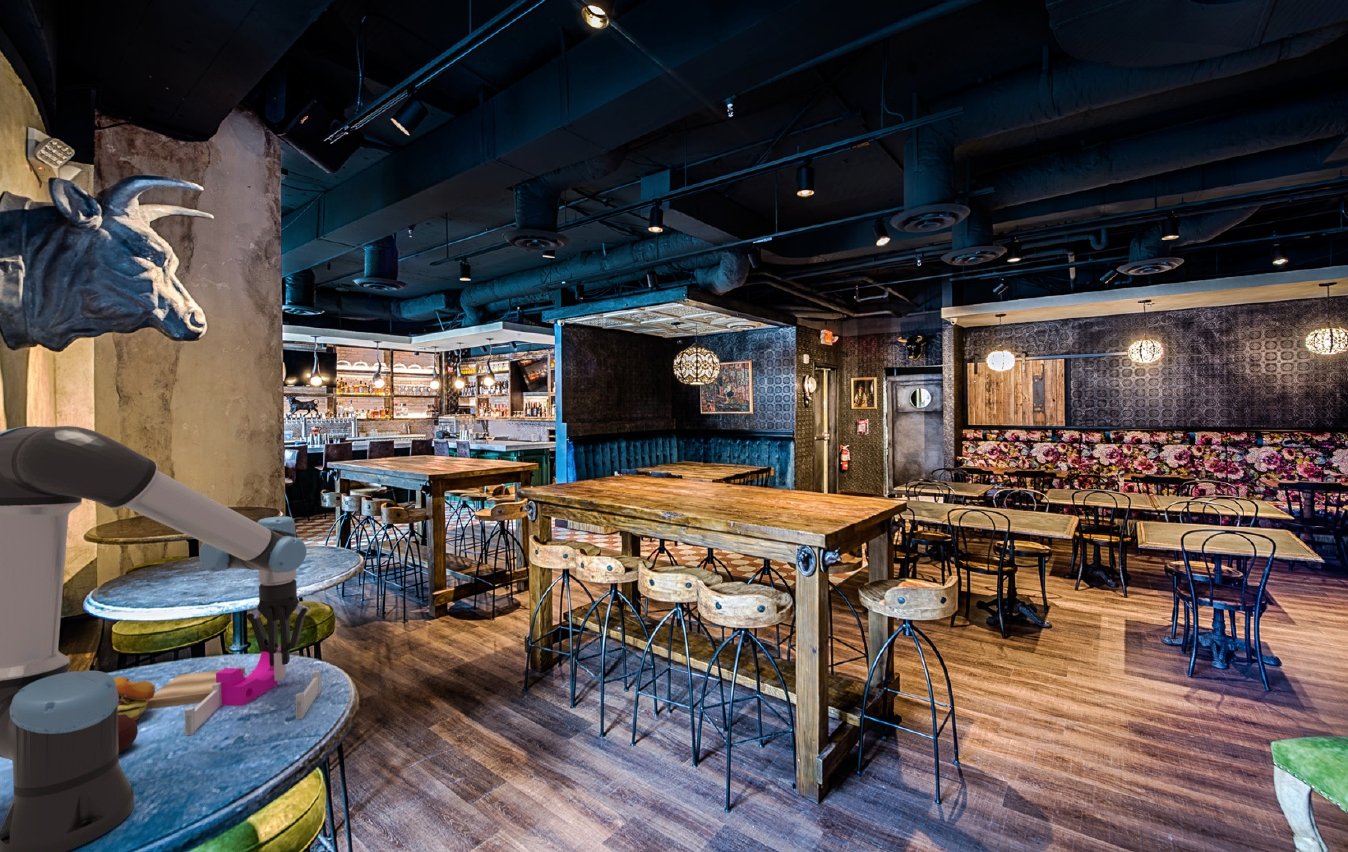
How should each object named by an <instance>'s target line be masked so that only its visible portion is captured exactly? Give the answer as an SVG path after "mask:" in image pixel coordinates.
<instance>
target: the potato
mask: <svg viewBox="0 0 1348 852" xmlns="http://www.w3.org/2000/svg"><path fill="white" fill-rule="evenodd" d="M138 729H139V728H138V723H137V722H136V720H135V721H134V719H132V718H130V717H127V716H125V715H118V754H120V753H122V752H124V751H126V750H127V749H128V748H130V746H132V745H133V743H134V742H135V740H136V739H137V737H138V733H139V732H138V731H139V730H138Z"/></svg>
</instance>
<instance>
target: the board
mask: <svg viewBox="0 0 1348 852" xmlns="http://www.w3.org/2000/svg"><path fill="white" fill-rule="evenodd" d="M240 668H241V671H242V673H243V674H244V673H245V674H246V667H245V666H243V667H240ZM221 670H222V669H219V670H218V669H217V670H216V669H215V670H208V671H200V672H191V673H185V674H178V675H176V676H175V677H174V678H172V680H170V681H169V682H168V683H165V685H163V686H162V687H161V688H160V689H159V690H157V691H155V693H154V696H153V698H152V699H150V700H148V703H147V706H146V708H145V710H151V709H160V708H168V707H176V706H183V705H185V706H186V705H194V704H200V703H201V702H202V701H203V700H204V699H205V698H206V697H207V696H208V695H209V694H211V693H212V692H213V690H212V685H213V684H215V683H216V673H217V672H219V671H221ZM245 674H244V675H245Z"/></svg>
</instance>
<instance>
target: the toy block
mask: <svg viewBox="0 0 1348 852" xmlns="http://www.w3.org/2000/svg"><path fill="white" fill-rule="evenodd" d="M279 649H281V646H279V648H278V649H277V650H279ZM260 652H261V651H260ZM220 670H221V671H219V672H217V673H216V683H220V682H221V694H222V705H221V706H232V707H233V706H237V707H239V706H240V707H241V706H244V705H246V704H248V703H249V702H251V701H252V700H254V699H256V698H258V697H259V696H262V695H263V694H264V693H266V692H268V691H269V690H271V689H273V688H275V687H277V686H278V680H277V681H275V679H274V666H270V660H269V653H268V652H261V653H260V656H259V659H258V662H257V665H256V666H255V668H254V669H253V670H252V671H251V672H250V674H248V675H247V676H246V677H245V674H244V675H243V673H242V671H241V667H226V668H223V669H220ZM274 686H275V687H274Z"/></svg>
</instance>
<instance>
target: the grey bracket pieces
mask: <svg viewBox="0 0 1348 852" xmlns="http://www.w3.org/2000/svg"><path fill="white" fill-rule="evenodd" d="M321 688H322V687H321V670H320V669H318V670H314V671H313V672H312V680H311V681H310V682H309V684H308V685H307V687H306V688H305V689H304V691H303V692H298V693H296V695H295V719H296V720H297V721H298V720H303V719H304V717H305V714H306V713H307V711H308V710H309V708H310V707H311V706H312V705H313V703H314V701H315V699H316V698H317V697H318V696H319V695H320V694H321V692H322V691H321V690H322V689H321ZM212 690H213V692H212V693H211V694H209V695H208V696H207V697H206V698H205V699H204V700H203V701H202V702H201V703H198V705H196V706H193V707H191V706H190V707H187V708H186V709H184V731H185V732H184V734H185V735H184V736H185V737H186V736H188V737H189V736H193V735H194V734H195V733H196V731H197V730H198V729H199V728H200V727H201V725H203V724H204V723H205V721H207V720H208V719H209V718H210V717H211V716H212V715H213V714H214V713H215V712H216V710H218V709H219V708H220V707H221V706H223V705H222V694H221V682H220V683H215V684H213V685H212Z"/></svg>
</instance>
